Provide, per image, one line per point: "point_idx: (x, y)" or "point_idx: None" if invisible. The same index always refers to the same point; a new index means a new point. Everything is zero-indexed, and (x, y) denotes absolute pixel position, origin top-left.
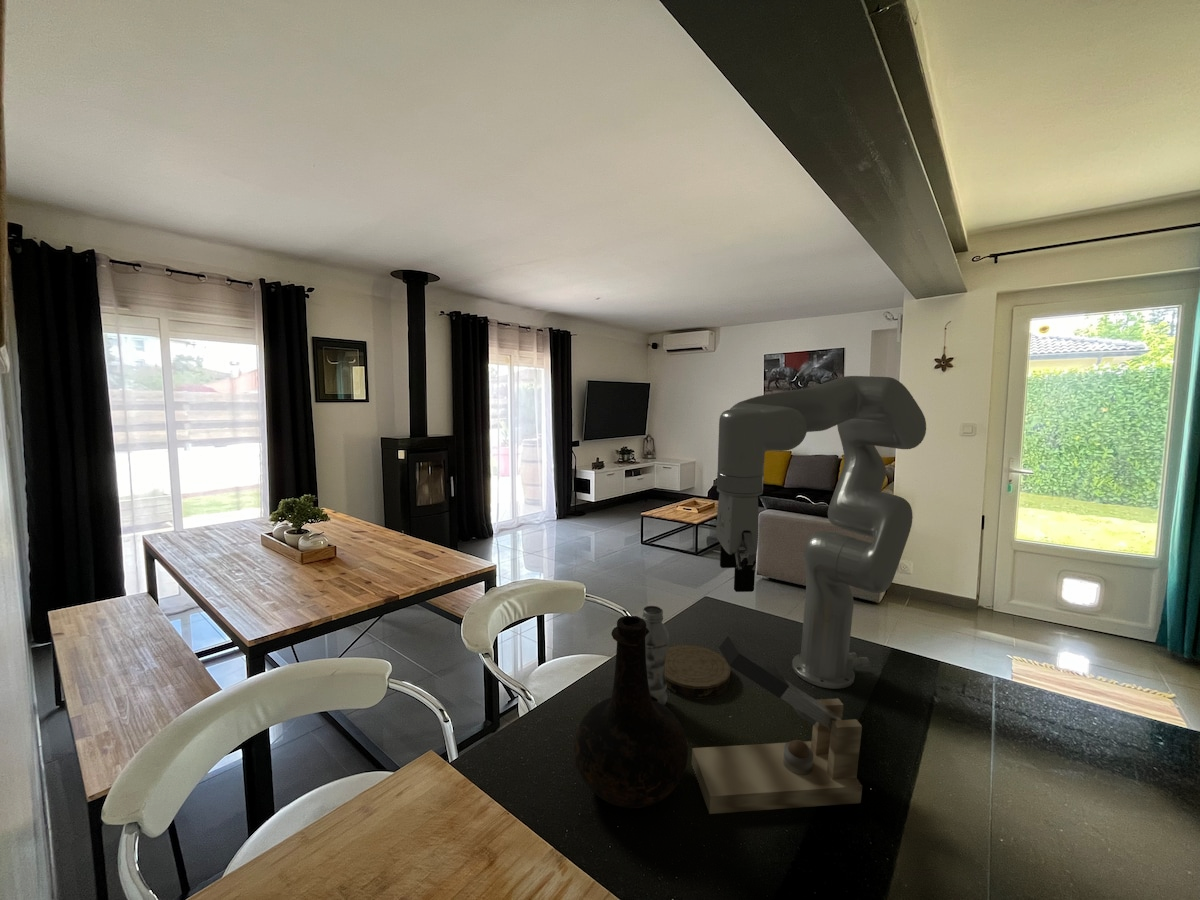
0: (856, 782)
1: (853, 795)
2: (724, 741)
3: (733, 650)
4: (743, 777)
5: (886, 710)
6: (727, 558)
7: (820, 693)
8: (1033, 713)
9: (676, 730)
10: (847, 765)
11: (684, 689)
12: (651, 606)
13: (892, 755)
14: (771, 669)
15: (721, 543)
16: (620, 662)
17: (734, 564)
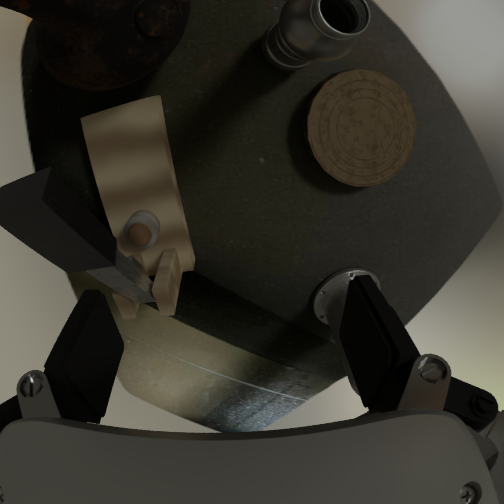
0: None
1: None
2: (207, 142)
3: (6, 205)
4: (112, 158)
5: (274, 332)
6: (361, 332)
7: (307, 283)
8: (269, 406)
9: (80, 73)
10: None
11: (310, 101)
12: (368, 13)
13: (205, 314)
14: (74, 259)
15: (192, 457)
16: None
17: (344, 335)
